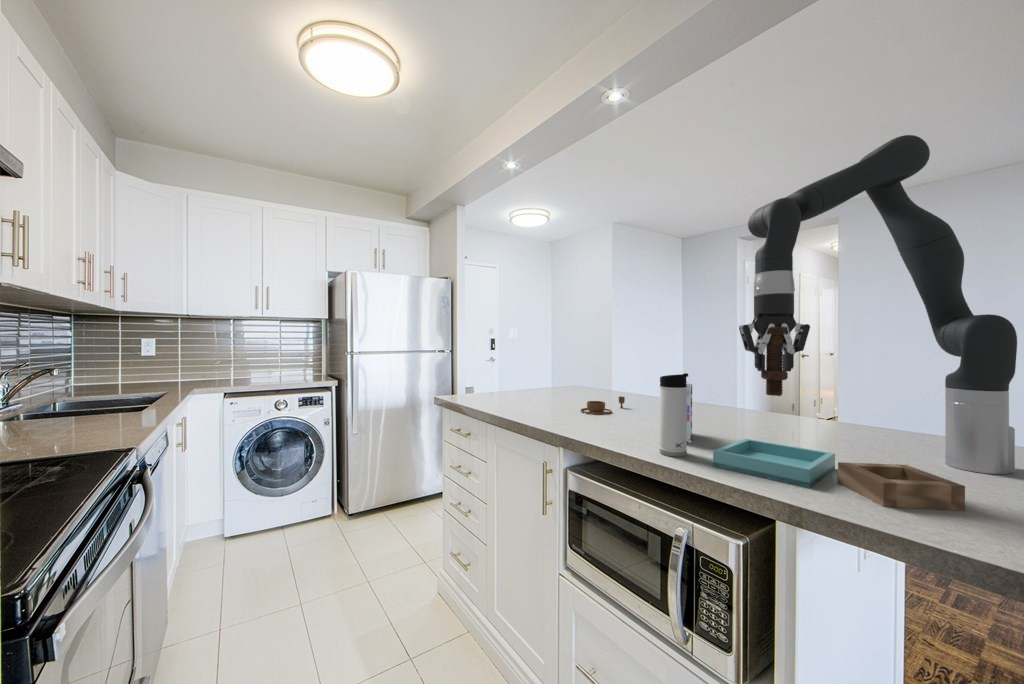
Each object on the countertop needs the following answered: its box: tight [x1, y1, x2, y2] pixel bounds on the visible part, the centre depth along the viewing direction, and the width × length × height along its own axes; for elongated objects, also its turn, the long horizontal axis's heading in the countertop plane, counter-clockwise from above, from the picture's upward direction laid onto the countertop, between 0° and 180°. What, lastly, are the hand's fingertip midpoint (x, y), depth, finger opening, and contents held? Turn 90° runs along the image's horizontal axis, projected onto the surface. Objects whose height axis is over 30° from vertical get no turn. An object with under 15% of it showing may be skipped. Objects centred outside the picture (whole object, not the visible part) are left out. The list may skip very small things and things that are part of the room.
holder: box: [837, 461, 966, 511], centre depth 75 cm, size 12×12×4 cm
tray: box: [712, 438, 836, 489], centre depth 91 cm, size 18×18×4 cm
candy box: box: [686, 382, 693, 444], centre depth 120 cm, size 14×6×16 cm, turn 170°
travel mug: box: [659, 372, 689, 458], centre depth 103 cm, size 6×7×20 cm
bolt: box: [760, 327, 791, 397], centre depth 91 cm, size 6×5×15 cm
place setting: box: [580, 395, 626, 416], centre depth 162 cm, size 18×20×6 cm
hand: (773, 370), depth 91 cm, fingers closed on bolt, 4 cm apart
